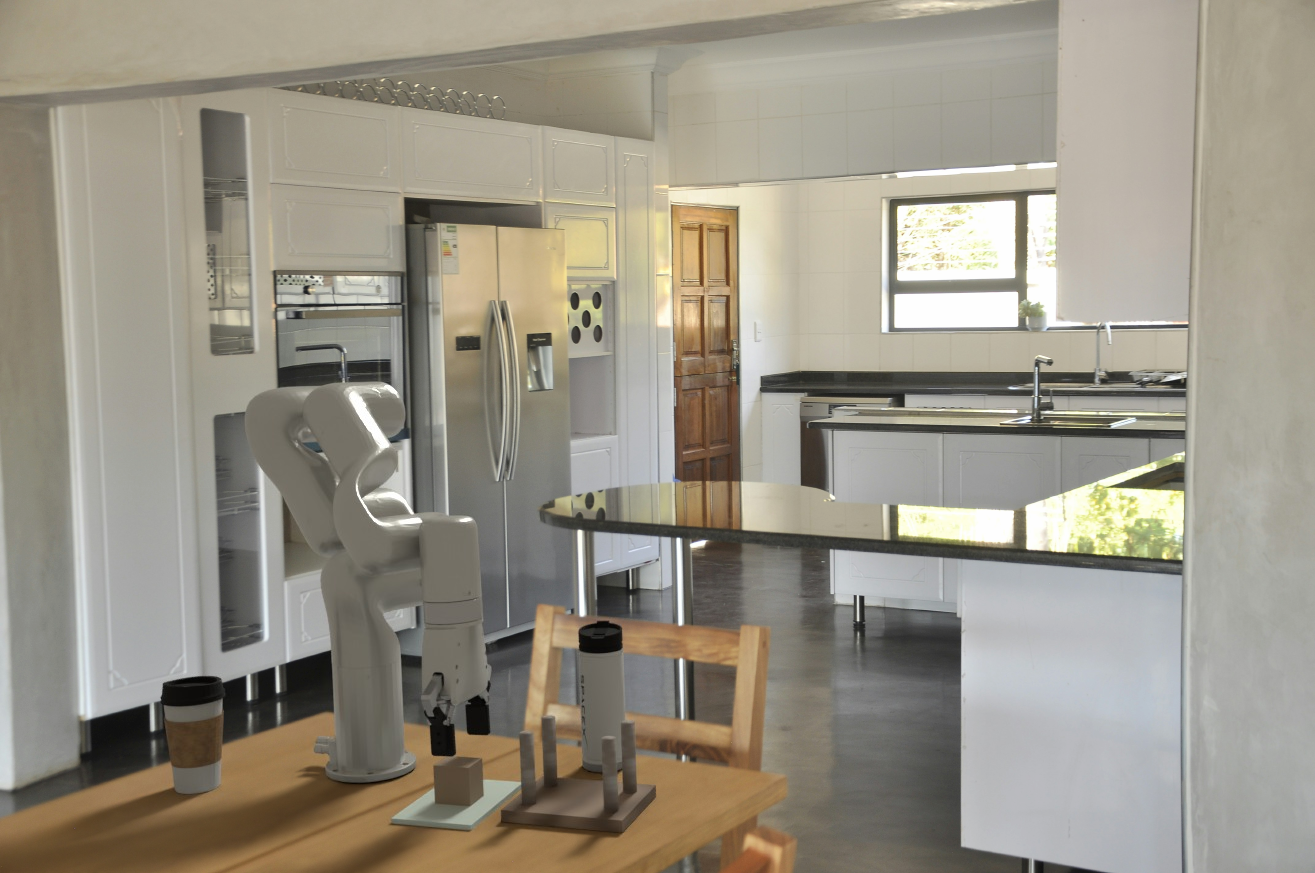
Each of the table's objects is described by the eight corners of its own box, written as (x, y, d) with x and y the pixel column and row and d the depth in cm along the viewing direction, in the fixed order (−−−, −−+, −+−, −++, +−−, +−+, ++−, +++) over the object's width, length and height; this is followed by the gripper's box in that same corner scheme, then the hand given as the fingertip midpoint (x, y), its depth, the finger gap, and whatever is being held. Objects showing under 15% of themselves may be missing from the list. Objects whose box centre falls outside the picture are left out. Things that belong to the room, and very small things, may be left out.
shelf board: (471, 834, 152) (469, 784, 152) (391, 827, 156) (389, 778, 155) (523, 790, 168) (521, 745, 167) (449, 785, 171) (447, 740, 170)
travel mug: (629, 757, 178) (625, 619, 177) (624, 773, 172) (619, 629, 171) (586, 757, 179) (582, 620, 178) (579, 772, 173) (574, 629, 171)
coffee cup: (151, 793, 169) (145, 684, 169) (195, 774, 177) (190, 670, 176) (199, 799, 166) (194, 688, 165) (243, 779, 174) (237, 673, 173)
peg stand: (501, 821, 155) (497, 738, 154) (542, 787, 167) (539, 709, 167) (622, 832, 150) (619, 746, 149) (656, 796, 162) (653, 716, 162)
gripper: (458, 601, 169) (466, 726, 170) (393, 625, 153) (402, 763, 153) (508, 600, 167) (516, 727, 167) (448, 624, 151) (457, 765, 151)
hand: (461, 744), depth 160 cm, fingers open, 9 cm apart
